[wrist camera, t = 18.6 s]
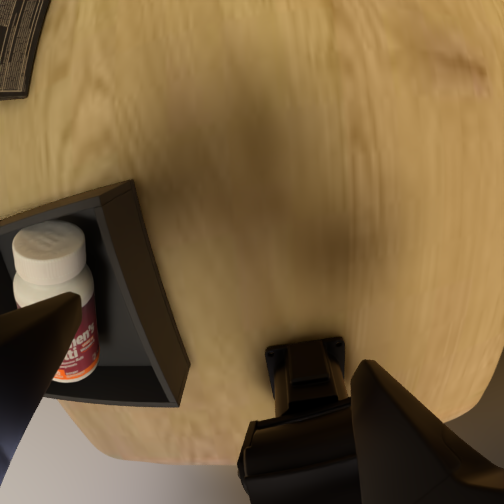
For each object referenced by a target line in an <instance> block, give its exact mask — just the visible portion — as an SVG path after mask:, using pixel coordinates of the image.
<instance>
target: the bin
mask: <svg viewBox="0 0 504 504" xmlns="http://www.w3.org/2000/svg"><path fill="white" fill-rule="evenodd" d="M48 220H61V221H66V222H70V223H72V224H75V225H77V226H78V227H79V228H80V229H81V230H82V231H83V233H84V235H85V245H86V264H87V265H88V267H89V268H90V270H91V273H92V276H93V281H94V293H95V307H96V319H97V329H98V338H99V347H100V358H99V362H98V364H97V366H96V368H95V370H94V371H93V372H92V373H91V374H90V375H88V376H87V377H85V378H84V379H82V380H79V381H76V382H69V383H64V382H57V381H54V380H52V381H51V383H50V385H49V387H48V389H47V390H46V392H45V394H44V396H43V397H47V398H54V399H60V400H67V401H75V402H84V403H94V404H105V405H118V406H135V407H179V406H180V402H181V398H182V395H183V391H184V387H185V383H186V379H187V376H188V372H189V368H190V362H189V360H188V357H187V354H186V352H185V349H184V346H183V344H182V341H181V338H180V335H179V333H178V330H177V327H176V324H175V321H174V318H173V315H172V312H171V310H170V307H169V304H168V301H167V298H166V295H165V291H164V288H163V285H162V282H161V279H160V276H159V273H158V269H157V266H156V263H155V259H154V256H153V253H152V249H151V246H150V242H149V239H148V235H147V232H146V228H145V224H144V221H143V217H142V213H141V209H140V205H139V201H138V197H137V193H136V189H135V185H134V181H133V179H131V180H127V181H123V182H119V183H115V184H112V185H108V186H104V187H101V188H97V189H94V190H90V191H87V192H84V193H80V194H77V195H74V196H70V197H67V198H64V199H61V200H58V201H55V202H51V203H48V204H45V205H42V206H39V207H37V208H34V209H31V210H28V211H25V212H22V213H19V214H17V215H14V216H11V217H9V218H6V219H3V220H1V221H0V315H2V314H5V313H8V312H11V311H13V310H16V309H18V308H17V304H16V300H15V296H14V291H13V281H14V277H15V274H16V272H17V271H16V268H15V263H14V255H13V249H12V243H13V239H14V237H15V236H16V234H17V233H18V232H19V231H20V230H22V229H23V228H25V227H28V226H31V225H34V224H38V223H41V222H44V221H48Z"/></svg>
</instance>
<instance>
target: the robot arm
mask: <svg viewBox="0 0 504 504" xmlns="http://www.w3.org/2000/svg"><path fill="white" fill-rule="evenodd" d="M81 322H82V302H81V296H80V295H79V294H76V293H73V292H70V291H69V292H65V293H62V294H59V295H57V296H54V297H51V298H48V299H45V300H42V301H39V302H36V303H33V304H31V305H28V306H25V307H22V308H19V309H16V310H13V311H11V312H8V313H5V314H2V315H0V486H1V483H2V481H3V478H4V476H5V474H6V471H7V469H8V467H9V465H10V461H11V459H12V457H13V455H14V453H15V451H16V449H17V446H18V444H19V442H20V440H21V438H22V436H23V434H24V432H25V430H26V428H27V426H28V424H29V422H30V420H31V418H32V416H33V414H34V413H35V410H36V409H37V407H38V405H39V403H40V401H41V399H42V397H43V396H44V394H45V392H46V390H47V389H48V387H49V385H50V383H51V381H52V380H53V378H54V376H55V374H56V373H57V371H58V369H59V368H60V366H61V364H62V362H63V360H64V359H65V356H66V354H67V352H68V350H69V348H70V346H71V343H72V341H73V339H74V337H75V335H76V333H77V330H78V328H79V326H80V324H81ZM338 342H340V343H339V344H336V343H338ZM270 352H273V353H272V354H270ZM265 357H266V362H267V367H268V372H269V377H270V382H271V387H272V392H273V397H274V400H275V415H276V418H271V419H267V420H262V421H257V420H256V421H252V422H250V424H249V427H248V430H247V433H246V436H245V440H244V443H243V446H242V449H241V452H240V456H239V459H238V462H237V466H238V476H239V478H240V479H241V483H242V485H243V488H244V490H245V491H246V493H247V494H248V495H249V497H250V502H251V504H504V469H503V468H500V467H498V466H496V465H494V464H493V463H491V462H490V461H489V460H487V459H486V458H485V457H483V456H482V455H481V454H480V453H478V452H477V451H476V450H474V449H473V448H472V447H471V446H469V445H468V444H467V443H465V442H464V441H463V440H462V439H461V438H459V437H458V436H457V435H456V434H455V433H454V432H453V431H451V430H450V429H449V428H448V427H447V426H446V425H445V424H443V423H442V421H440V420H439V419H438V418H437V417H436V416H435V415H434V414H433V413H432V412H431V411H430V410H428V409H427V408H426V407H425V406H424V405H423V404H422V403H421V402H420V401H419V400H417V399H416V398H415V397H414V396H413V395H412V394H411V393H410V392H409V391H408V390H406V389H405V388H404V387H403V386H402V385H401V384H400V383H399V382H398V381H397V380H396V379H394V378H393V377H392V376H391V375H390V374H389V373H388V372H387V371H386V370H385V369H383V368H382V367H381V366H380V365H379V364H378V363H377V362H376V361H374V360H366V359H365V360H362V361H361V363H360V364H359V366H358V368H357V369H356V371H355V373H354V375H353V376H352V379H351V397H348V394H347V390H346V386H345V383H344V363H345V343H344V340H343V338H342V337H334V338H328V339H322V340H316V341H309V342H302V343H295V344H288V345H281V346H273V347H268V348H267V349H266V350H265Z"/></svg>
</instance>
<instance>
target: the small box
mask: <svg viewBox="0 0 504 504" xmlns="http://www.w3.org/2000/svg"><path fill="white" fill-rule="evenodd" d="M48 4H49V0H0V101H1V100H11V99H24V98H26V97H27V93H28V87H29V81H30V75H31V70H32V65H33V60H34V55H35V51H36V46H37V42H38V38H39V34H40V30H41V27H42V23H43V20H44V16H45V13H46V10H47V7H48Z"/></svg>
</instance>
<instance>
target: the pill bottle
mask: <svg viewBox="0 0 504 504" xmlns="http://www.w3.org/2000/svg"><path fill="white" fill-rule="evenodd" d="M12 249H13V255H14V263H15V268H16V271H17V272H16V274H15V277H14V281H13V291H14V296H15V300H16V304H17V308H18V309H19V308H22V307H25V306H28V305H31V304H33V303H36V302H39V301H42V300H45V299H48V298H51V297H54V296H57V295H59V294H62V293H65V292H69V291H70V292H73V293H76V294H79V295H80V296H81V302H82V322H81V324H80V326H79V328H78V330H77V333H76V335H75V337H74V339H73V341H72V343H71V346H70V348H69V350H68V352H67V354H66V356H65V359H64V360H63V362H62V364H61V366H60V368H59V369H58V371H57V373H56V374H55V376H54V378H53V380H54V381H57V382H64V383H69V382H76V381H79V380H82V379H84V378H85V377H87V376H88V375H90V374H91V373H92V372H93V371H94V370H95V368H96V366H97V364H98V362H99V358H100V347H99V338H98V329H97V319H96V307H95V293H94V281H93V276H92V273H91V270H90V268H89V267H88V265H87V264H86V245H85V235H84V233H83V231H82V230H81V229H80V228H79V227H78V226H77V225H75V224H72V223H70V222H66V221H61V220H48V221H44V222H41V223H38V224H34V225H31V226H28V227H25V228H23V229H22V230H20V231H19V232H18V233H17V234H16V236H15V237H14V239H13V243H12Z"/></svg>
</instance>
